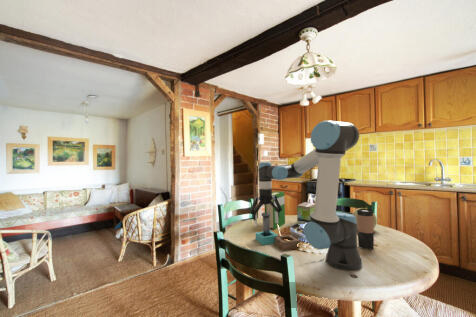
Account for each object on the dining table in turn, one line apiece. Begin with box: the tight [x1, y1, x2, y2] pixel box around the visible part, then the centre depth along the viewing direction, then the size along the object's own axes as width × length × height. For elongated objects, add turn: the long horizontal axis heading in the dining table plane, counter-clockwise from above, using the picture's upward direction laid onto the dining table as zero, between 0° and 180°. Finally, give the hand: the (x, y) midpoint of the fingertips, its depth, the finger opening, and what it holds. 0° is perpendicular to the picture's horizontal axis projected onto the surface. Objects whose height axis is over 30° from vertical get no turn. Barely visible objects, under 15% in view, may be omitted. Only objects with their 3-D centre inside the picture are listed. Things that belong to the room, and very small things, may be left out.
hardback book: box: [264, 190, 286, 231], centre depth 163 cm, size 18×7×24 cm, turn 144°
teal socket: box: [255, 230, 279, 246], centre depth 131 cm, size 10×10×5 cm
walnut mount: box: [274, 234, 301, 251], centre depth 123 cm, size 10×10×5 cm
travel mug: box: [357, 208, 375, 250], centre depth 121 cm, size 8×8×20 cm
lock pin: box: [261, 211, 271, 236], centre depth 131 cm, size 5×5×16 cm
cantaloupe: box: [351, 207, 378, 229], centre depth 148 cm, size 15×15×15 cm
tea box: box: [296, 201, 315, 225], centre depth 166 cm, size 15×10×15 cm, turn 143°
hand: (266, 224), depth 131 cm, fingers open, 13 cm apart
